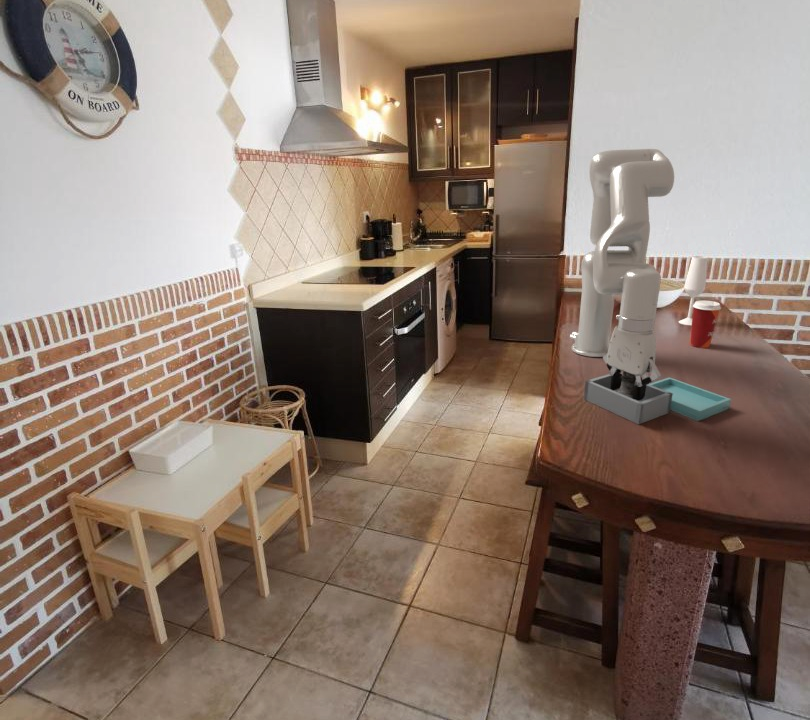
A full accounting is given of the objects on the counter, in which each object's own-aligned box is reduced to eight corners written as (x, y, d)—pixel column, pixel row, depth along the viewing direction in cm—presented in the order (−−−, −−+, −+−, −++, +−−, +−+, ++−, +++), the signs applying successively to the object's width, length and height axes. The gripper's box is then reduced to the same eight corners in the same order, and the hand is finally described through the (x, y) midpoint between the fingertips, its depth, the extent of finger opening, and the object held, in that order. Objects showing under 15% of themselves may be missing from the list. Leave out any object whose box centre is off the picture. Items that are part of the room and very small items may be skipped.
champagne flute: (681, 319, 188) (692, 255, 179) (701, 322, 183) (713, 256, 175) (675, 323, 183) (686, 257, 175) (695, 326, 179) (707, 259, 170)
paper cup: (717, 349, 156) (725, 306, 151) (690, 348, 158) (698, 305, 153) (708, 341, 163) (716, 300, 158) (682, 340, 165) (689, 299, 160)
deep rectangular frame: (583, 399, 126) (585, 381, 124) (613, 389, 131) (616, 371, 129) (638, 424, 113) (641, 404, 111) (669, 412, 118) (672, 393, 116)
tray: (637, 396, 127) (638, 387, 126) (667, 385, 132) (669, 377, 131) (697, 421, 113) (699, 411, 113) (729, 408, 119) (731, 399, 118)
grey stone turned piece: (607, 401, 125) (613, 356, 120) (630, 399, 125) (636, 355, 121) (619, 411, 119) (625, 365, 115) (642, 410, 119) (650, 363, 115)
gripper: (594, 318, 120) (587, 386, 126) (659, 336, 106) (647, 412, 112) (616, 313, 123) (608, 380, 130) (681, 330, 109) (668, 404, 115)
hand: (626, 394), depth 121 cm, fingers closed on grey stone turned piece, 5 cm apart
